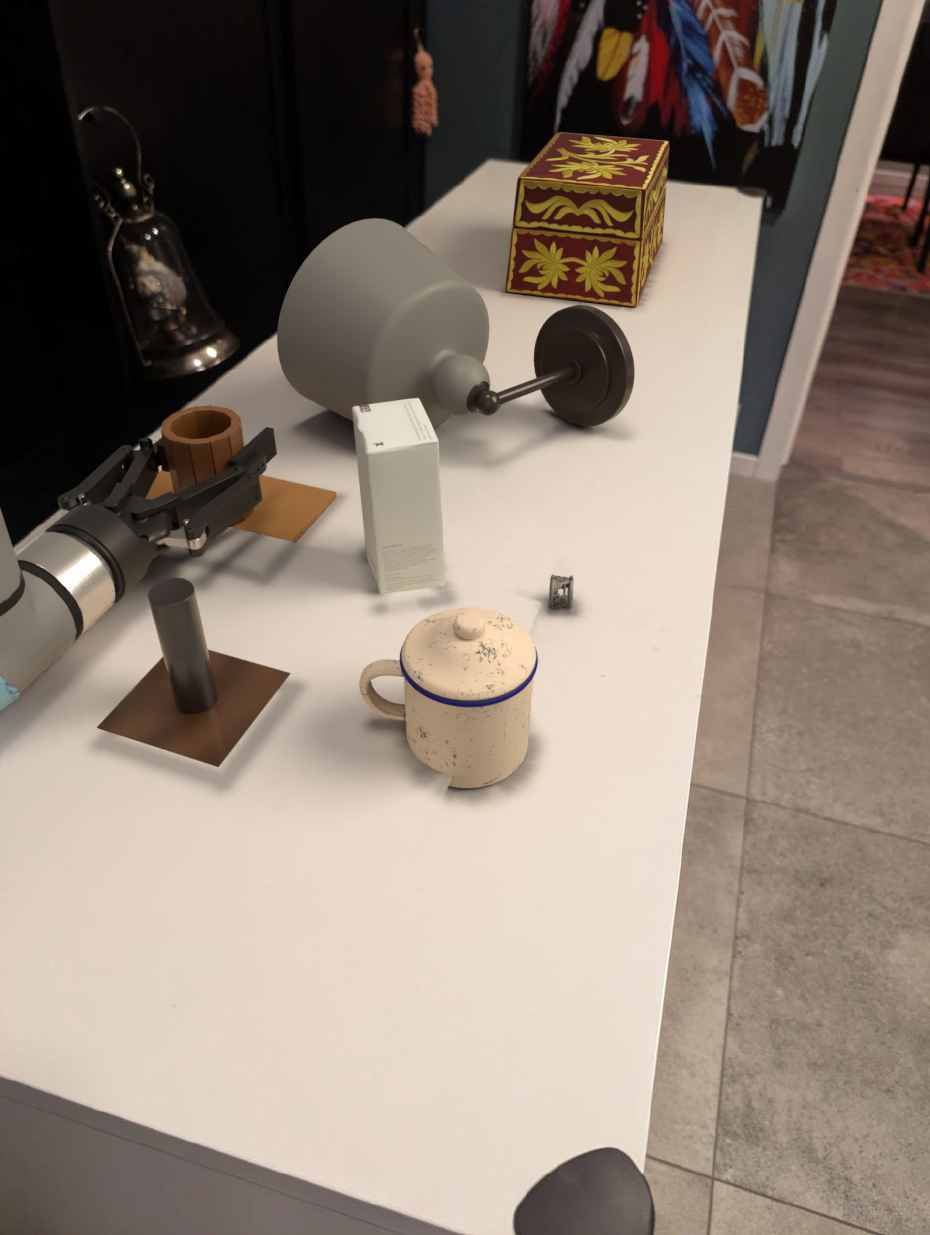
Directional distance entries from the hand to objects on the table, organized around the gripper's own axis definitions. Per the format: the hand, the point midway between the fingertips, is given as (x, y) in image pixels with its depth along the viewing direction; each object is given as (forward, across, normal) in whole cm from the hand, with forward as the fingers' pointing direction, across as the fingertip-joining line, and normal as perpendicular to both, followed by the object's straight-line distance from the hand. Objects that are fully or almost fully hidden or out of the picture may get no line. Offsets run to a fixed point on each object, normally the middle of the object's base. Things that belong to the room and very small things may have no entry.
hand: (236, 433), depth 90 cm
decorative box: (+72, +15, -6) cm, 74 cm away
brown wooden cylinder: (-5, 0, -6) cm, 7 cm away
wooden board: (-5, 0, -6) cm, 8 cm away
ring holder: (-28, +13, -6) cm, 31 cm away
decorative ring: (-6, +34, -6) cm, 35 cm away
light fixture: (+18, +15, -6) cm, 24 cm away
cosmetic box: (-7, +20, -6) cm, 22 cm away
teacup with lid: (-24, +31, -6) cm, 40 cm away
